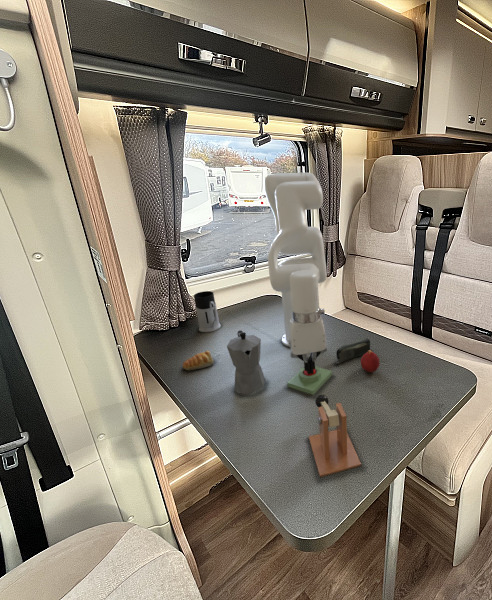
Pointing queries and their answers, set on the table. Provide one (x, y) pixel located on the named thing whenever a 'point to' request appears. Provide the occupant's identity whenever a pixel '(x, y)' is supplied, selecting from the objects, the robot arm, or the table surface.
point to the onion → (370, 361)
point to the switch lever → (328, 410)
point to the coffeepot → (246, 363)
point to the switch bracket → (333, 445)
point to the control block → (309, 380)
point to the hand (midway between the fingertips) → (309, 371)
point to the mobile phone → (352, 350)
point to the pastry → (198, 361)
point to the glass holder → (206, 311)
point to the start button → (309, 374)
